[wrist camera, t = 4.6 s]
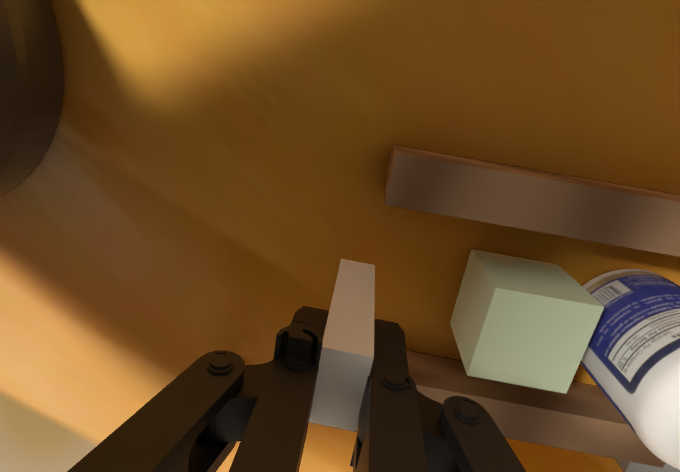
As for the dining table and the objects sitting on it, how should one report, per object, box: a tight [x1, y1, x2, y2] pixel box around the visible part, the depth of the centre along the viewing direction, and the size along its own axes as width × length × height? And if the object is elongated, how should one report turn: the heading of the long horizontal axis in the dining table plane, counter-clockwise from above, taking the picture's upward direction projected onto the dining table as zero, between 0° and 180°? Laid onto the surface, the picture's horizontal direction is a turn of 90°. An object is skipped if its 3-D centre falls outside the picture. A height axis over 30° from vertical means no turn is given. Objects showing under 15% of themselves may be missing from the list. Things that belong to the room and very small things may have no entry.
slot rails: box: [384, 145, 680, 468], centre depth 18 cm, size 15×12×2 cm
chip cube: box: [450, 249, 604, 394], centre depth 17 cm, size 4×4×4 cm
